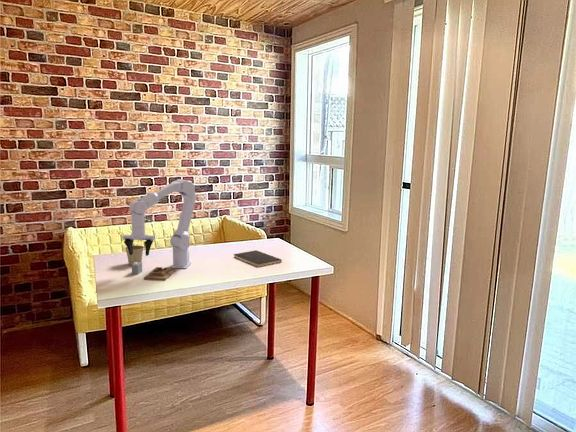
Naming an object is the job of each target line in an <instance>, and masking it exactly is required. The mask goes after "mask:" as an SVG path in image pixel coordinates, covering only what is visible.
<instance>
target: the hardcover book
mask: <svg viewBox="0 0 576 432" xmlns="http://www.w3.org/2000/svg"><path fill="white" fill-rule="evenodd" d="M233 256H234V258H235V257H236V258H235V259H237V258H238V260H240V261H242V260H243V261H242V262H245V263H247V262H248V264H249V263H250V265H252V264H253V265H252V266H254V265H255V266H254V267H257V268H259V266H260V267H263V265H265V266H269V265H268V264H270V265H273V264H272V263H275V264H278V263H277V262H280V263H282V261H283V260H282V259H281V258H278V257H275V256H273V255H270V254H267V253H265V252H262V251H259V250H250V251H244V252H239V253H233Z"/></svg>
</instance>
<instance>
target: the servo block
mask: <svg viewBox="0 0 576 432" xmlns="http://www.w3.org/2000/svg"><path fill="white" fill-rule="evenodd" d="M142 272H143V262H142V263H141V262H134V264H133V265H131V275H136V276H137V275H140V274H141V273H142Z"/></svg>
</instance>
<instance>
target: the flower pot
mask: <svg viewBox="0 0 576 432" xmlns="http://www.w3.org/2000/svg"><path fill="white" fill-rule="evenodd" d="M144 249H145V245H144V246H143V245H139V244H138V245H136V244H135V245H133V254H132V255H130V254H129V251H128V248H127V246H126V247H124V250H125V252H126V256H127V262H128V265H130V266H132V265H133V264H134V262H141V263H142V264H143V252H144Z"/></svg>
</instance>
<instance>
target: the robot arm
mask: <svg viewBox="0 0 576 432" xmlns="http://www.w3.org/2000/svg"><path fill="white" fill-rule="evenodd" d="M195 189H196V186H195V184H194V183H193V182H192V181H191V180H189V179H188V180H187V179H186V180H185V179H182V178H178V179H175V180H174V181H172V182H170V183H169V184H168V185H166V186H164V187H162V188H161V189H159V190H158V191H156V192H147V193H146V195H144V196H142V197H139V198H137V200H133V201H131V203H130V204H129V206H128V210H129V211H130V213H131V214H130V216H131V234H124V235H122V241H124V242H123V243H124V244H125V246H126V247H127V248H128V251H129V254H130V255H132V254H133V246H134V241H135V240H136V241H144V243H143V244H144V249H145V256H146V257H148V256H149V255H150V251H151V250H150V249H151V247H152V244H153V243H154V241H155V238H156V236H155V235H148V234H146V226H145V225H146V222H145V218H146V217H145V213H146V212H147V210H148V209H150V208H151V207H153V206H155V205H156V204H159V201H160V200H161V199H163V198H164V197H166V196H168V195H170V194H173V193H174V192H175V193H178V194H179V195H181V196H182V198H183V199H184V201H183V203H182V207H181V213H180V216H179V221H178V225H177V229H176V230H175V231H174V232H173V234H172V236H171V238H170V241H169V244H170V245H171V246H172V265H171V266H170V267H169V268H171V269H185V270H186V269H187V268H188V267H189V266H190V265H191V264H192V262H190V251H189V247H190V245H191V242H190V238H191V236H190V233H189V230H190V225H191V220H192V218H193V217H192V216H193V211H194V208H195V205H196V199H197V195H196V190H195Z"/></svg>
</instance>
